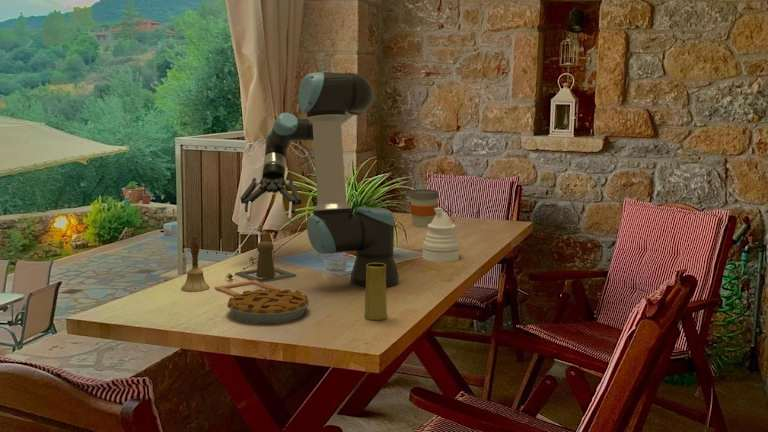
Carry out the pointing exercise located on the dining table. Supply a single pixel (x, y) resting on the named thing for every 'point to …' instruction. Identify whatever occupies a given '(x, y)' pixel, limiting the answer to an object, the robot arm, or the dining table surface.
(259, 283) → the frame
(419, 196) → the reusable coffee cup
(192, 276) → the hand bell
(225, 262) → the dining table surface
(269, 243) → the cork
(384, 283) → the vase
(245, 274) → the frame
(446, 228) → the honey pot
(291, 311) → the pie
